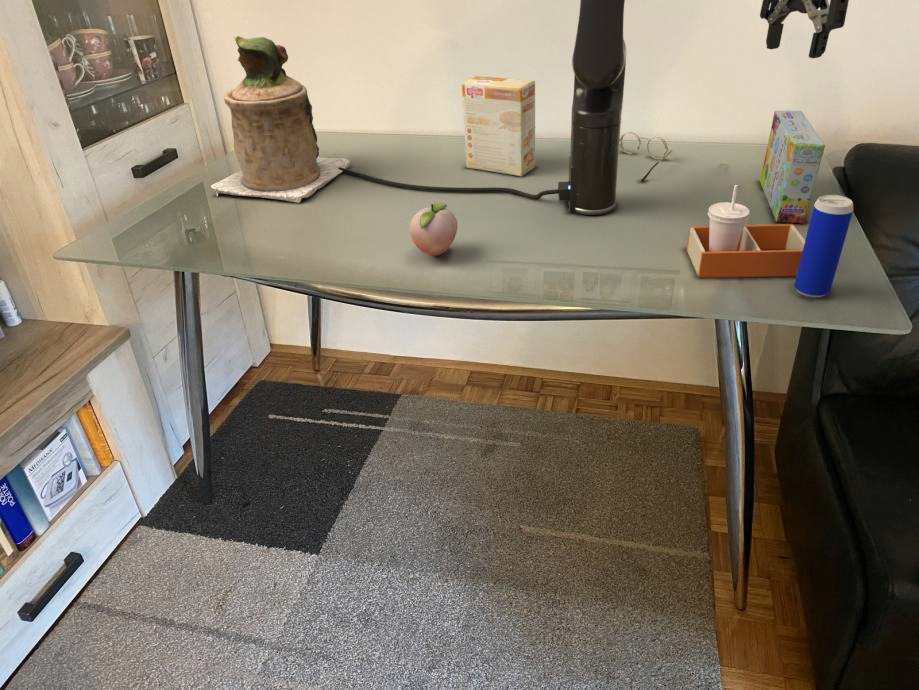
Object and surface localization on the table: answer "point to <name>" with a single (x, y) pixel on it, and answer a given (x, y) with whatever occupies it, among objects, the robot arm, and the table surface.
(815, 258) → the beverage can
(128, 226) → the table surface
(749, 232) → the carrier
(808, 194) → the snack box
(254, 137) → the cookie jar
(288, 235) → the table surface
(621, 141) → the round eyeglasses
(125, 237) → the table surface
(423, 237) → the decorative fruit
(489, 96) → the coffeecake box
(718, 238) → the smoothie
